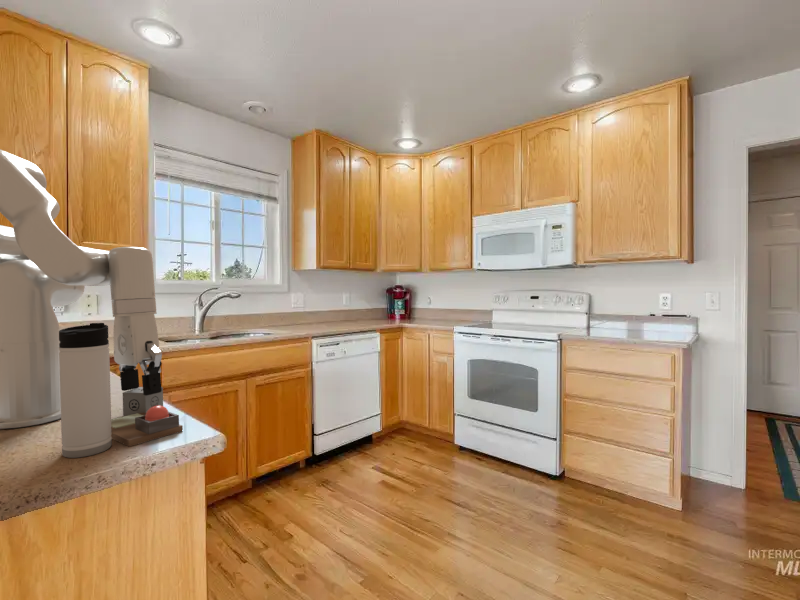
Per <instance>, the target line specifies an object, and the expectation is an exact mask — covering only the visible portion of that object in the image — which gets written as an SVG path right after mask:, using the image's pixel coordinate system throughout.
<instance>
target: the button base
mask: <svg viewBox="0 0 800 600" xmlns="http://www.w3.org/2000/svg"><path fill="white" fill-rule="evenodd" d="M168 412H169V417H167V418H163V419H159V420H155V421H151V422H150V421H147V420H145V415H146V413H144V412H143V413H137V414H132V415H128V416H124V417H123V416H120V417H116V418H111V429H112V435H111V437H112V440H113V441H116V442H118V443H121V444H123V445H125V446H127V447H132V446H137V445H140V444H143V443H147V442H149V441H153V440H156V439H160V438H164V437H167V436H170V435H174V434H178V433H181V432H183V431H182V430H183V427H184V426H183V425H182V424H180V415H179V414H177V413H174V412H170V411H168ZM180 431H181V432H180ZM177 432H178V433H177Z"/></svg>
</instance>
